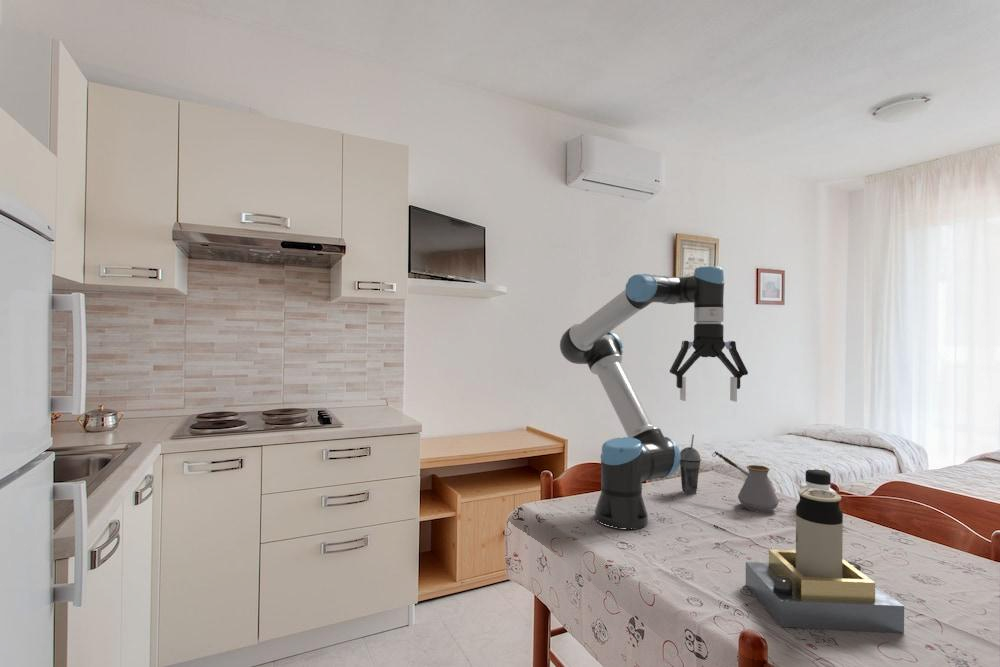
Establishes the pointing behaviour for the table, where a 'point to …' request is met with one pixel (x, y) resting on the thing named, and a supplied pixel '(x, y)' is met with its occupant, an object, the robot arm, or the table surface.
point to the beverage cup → (689, 469)
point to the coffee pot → (755, 488)
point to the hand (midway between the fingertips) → (708, 400)
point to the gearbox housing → (822, 597)
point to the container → (817, 480)
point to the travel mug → (819, 534)
